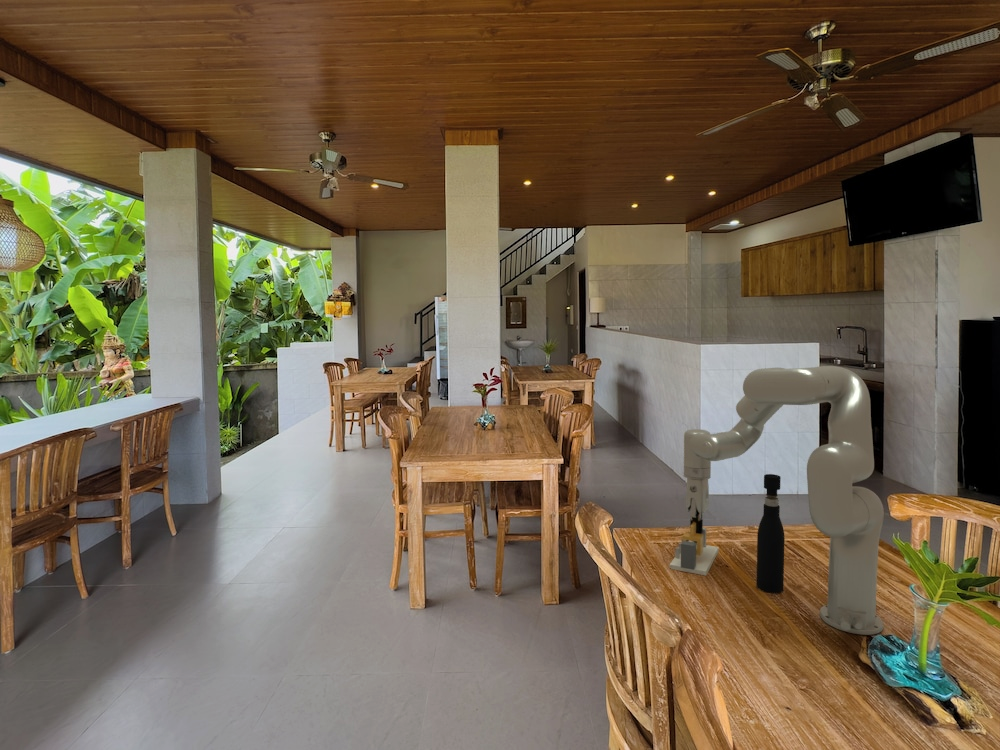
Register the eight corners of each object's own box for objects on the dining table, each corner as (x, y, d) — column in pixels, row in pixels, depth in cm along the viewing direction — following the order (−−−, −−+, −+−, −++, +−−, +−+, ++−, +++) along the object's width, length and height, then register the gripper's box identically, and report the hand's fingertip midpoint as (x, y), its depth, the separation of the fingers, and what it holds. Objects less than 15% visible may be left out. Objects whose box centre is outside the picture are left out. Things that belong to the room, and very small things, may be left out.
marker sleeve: (700, 555, 165) (700, 527, 164) (682, 552, 167) (682, 525, 167) (703, 551, 168) (703, 523, 168) (685, 547, 171) (685, 520, 170)
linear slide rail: (705, 576, 159) (706, 548, 159) (669, 569, 164) (669, 541, 164) (718, 550, 177) (719, 525, 176) (685, 545, 182) (685, 520, 181)
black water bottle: (755, 590, 150) (757, 477, 148) (757, 580, 156) (759, 471, 154) (782, 595, 147) (785, 480, 145) (783, 585, 153) (786, 474, 151)
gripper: (705, 479, 162) (704, 543, 163) (715, 467, 174) (714, 526, 176) (678, 476, 165) (677, 538, 167) (689, 465, 178) (688, 523, 180)
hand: (696, 532), depth 171 cm, fingers closed
